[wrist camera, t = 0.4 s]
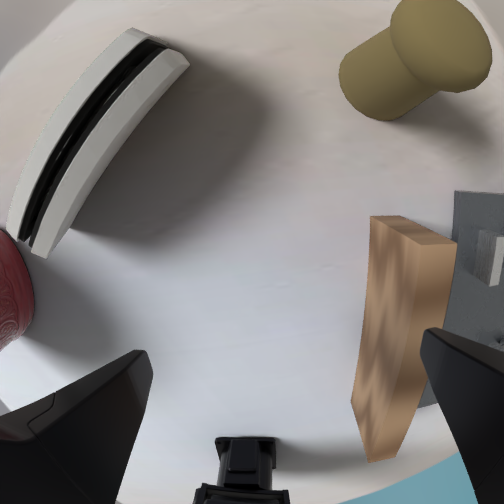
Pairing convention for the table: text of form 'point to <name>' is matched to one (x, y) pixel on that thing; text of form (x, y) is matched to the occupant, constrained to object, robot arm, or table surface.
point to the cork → (416, 59)
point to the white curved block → (89, 135)
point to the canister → (13, 293)
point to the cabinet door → (398, 327)
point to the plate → (476, 273)
